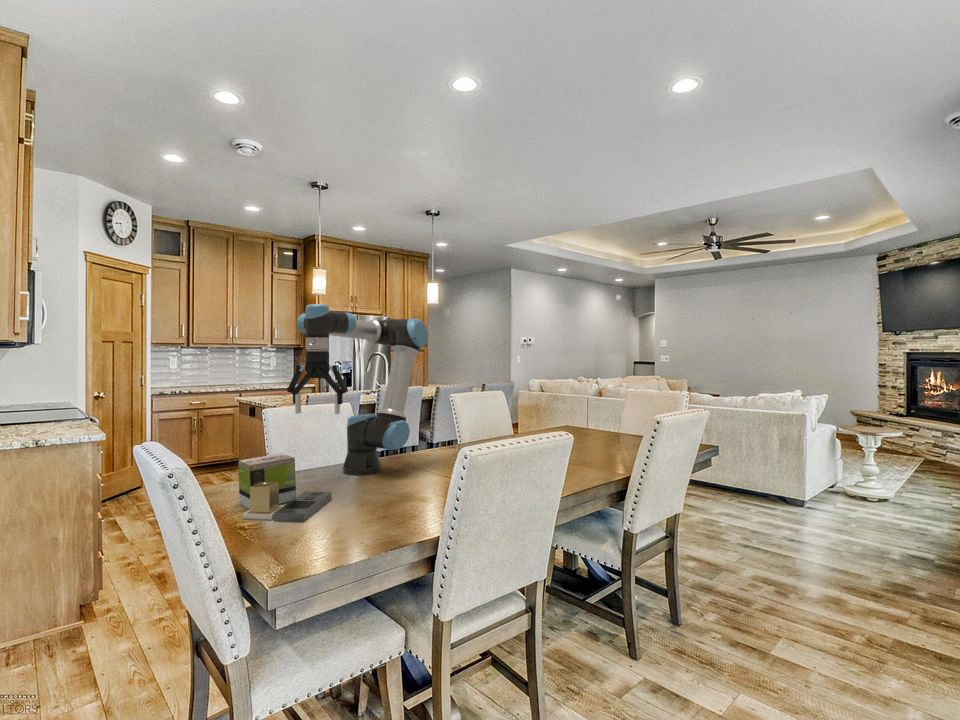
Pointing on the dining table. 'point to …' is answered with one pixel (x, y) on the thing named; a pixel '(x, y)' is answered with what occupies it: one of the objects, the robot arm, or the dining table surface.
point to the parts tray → (259, 515)
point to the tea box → (267, 476)
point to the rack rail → (302, 507)
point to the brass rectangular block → (264, 497)
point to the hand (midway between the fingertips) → (317, 413)
